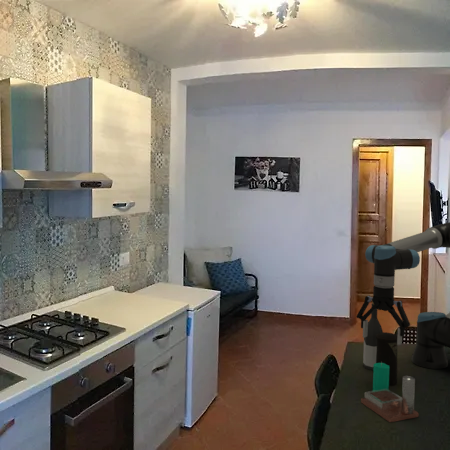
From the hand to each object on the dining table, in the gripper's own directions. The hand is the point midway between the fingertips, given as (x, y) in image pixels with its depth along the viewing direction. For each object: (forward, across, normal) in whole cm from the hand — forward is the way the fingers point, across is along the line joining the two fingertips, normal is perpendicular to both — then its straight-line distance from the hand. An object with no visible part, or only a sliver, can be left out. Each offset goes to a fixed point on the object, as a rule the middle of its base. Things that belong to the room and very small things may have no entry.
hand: (381, 340), depth 185 cm
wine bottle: (+20, -12, +22) cm, 33 cm away
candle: (+20, 0, 0) cm, 21 cm away
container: (+20, -2, +11) cm, 23 cm away
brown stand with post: (+20, +8, -13) cm, 25 cm away
